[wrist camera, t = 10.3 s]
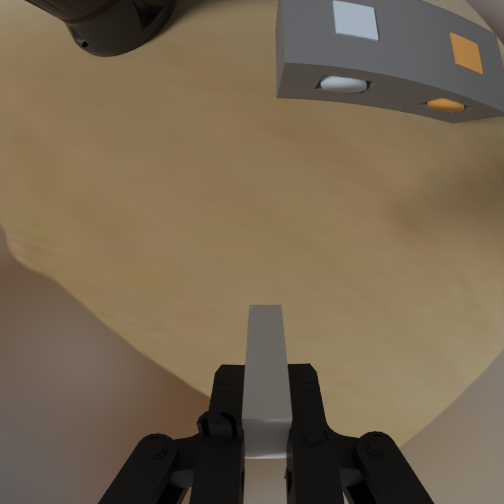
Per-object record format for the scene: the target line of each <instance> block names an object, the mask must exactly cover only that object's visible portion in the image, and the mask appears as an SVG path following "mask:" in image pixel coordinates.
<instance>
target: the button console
mask: <svg viewBox="0 0 504 504" xmlns="http://www.w3.org/2000/svg"><path fill="white" fill-rule="evenodd" d="M276 66H277V98H292V99H310V100H322V101H333V102H343V103H351V104H359V105H366V106H373V107H379V108H385V109H391V110H397V111H402V112H407V113H412V114H416V115H421V116H425V117H430V118H434V119H438V120H442V121H446V122H450V123H455V122H462V121H468V120H474V119H481V118H489V117H496V116H504V68H503V63H502V59H501V54H500V50H499V46H498V42H497V38H496V34H494V33H492V32H490V31H489V30H487V29H485V28H483V27H481V26H479V25H477V24H475V23H473V22H471V21H469V20H467V19H465V18H463V17H461V16H459V15H457V14H454V13H452V12H450V11H447V10H445V9H443V8H440V7H438V6H435V5H433V4H430V3H427V2H425V1H422V0H279V1H278V10H277V20H276ZM323 75H327V76H336V77H344V78H352V79H359V80H365V81H366V83H367V89H366V90H364V91H361V92H355V93H342V92H333V91H329V90H326V89H324V88H322V87H321V78H322V77H323ZM440 97H441V98H444V99H448V100H451V101H454V102H457V103H460V104H463V105H464V109H465V110H464V111H462V112H443V111H438V110H434V109H431V108H429V107H428V106H427V102H428V101H431V100H434V99H437V98H440Z"/></svg>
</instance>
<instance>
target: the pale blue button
mask: <svg viewBox="0 0 504 504" xmlns="http://www.w3.org/2000/svg"><path fill="white" fill-rule="evenodd" d="M321 87H322V88H324V89H326V90H329V91H333V92H342V93H355V92H361V91H364V90H366V89H367V83H366V81H365V80H359V79H352V78H344V77H336V76H327V75H323V77H322V78H321Z"/></svg>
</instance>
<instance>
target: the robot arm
mask: <svg viewBox="0 0 504 504" xmlns="http://www.w3.org/2000/svg"><path fill="white" fill-rule="evenodd" d="M25 1H27V2H29V3H31V4H33V5H35V6H37V7H39V8H40V9H42V10H44V11H46V12H48V13H50V14H51V15H53V16H55V17H57V18H59V19H60V20H62V21H64V22H65V24H66V26H67V28H68V30H69V32H70V33H71V35H72V37H73V39H74V41H75V42H76V44H77V45H78V46H79V47H80V48H82V49H83V50H85V51H87V52H89V53H90V54H92V55H95V56H101V57H109V56H115V55H119V54H123V53H126V52H128V51H130V50H132V49H135V48H136V47H138V46H140V45H142V44H143V43H145V42H146V41H147V40H149V39H150V38H151V37H153V36H154V35H155V34H156V33H157V32H158V31H159V30H160V29H161V28H162V27H163V26H164V24H165V23H166V22H167V20H168V19H169V17H170V15H171V14H172V12H173V9H174V6H175V3H176V0H25ZM197 426H198V430H199V433H198V434H196V435H194V436H192V437H188V438H182V439H176V440H173V439H172V438H170V437H168V436H167V435H164V434H159V433H157V434H150V435H148V436H146V437H144V438H143V439H142V440H141V441H140V442H139V443H138V444H137V446H136V447H135V449H134V451H133V452H132V454H131V455H130V457H129V458H128V460H127V461H126V463H125V464H124V466H123V467H122V469H121V470H120V472H119V473H118V475H117V476H116V478H115V479H114V481H113V482H112V484H111V485H110V486H109V488H108V489H107V491H106V492H105V494H104V495H103V497H102V498H101V500H100V501H99V503H98V504H181V503H182V501H183V499H184V497H185V495H186V493H187V491H188V489H189V487H192V490H191V496H190V502H189V504H243V500H244V499H243V498H244V479H245V468H244V465H245V458H286V459H287V467H286V473H285V477H284V478H285V479H286V488H287V489H286V490H287V504H344V497H343V492H344V494H345V496H346V498H347V500H348V502H349V504H434V502H433V501H432V499H431V498H430V496H429V495H428V493H427V491H426V490H425V488H424V487H423V485H422V484H421V482H420V481H419V479H418V477H417V476H416V474H415V473H414V471H413V470H412V468H411V467H410V465H409V464H408V462H407V461H406V459H405V457H404V456H403V454H402V453H401V451H400V450H399V448H398V447H397V445H396V444H395V442H394V441H393V439H392V438H391V437H390V436H389V435H387V434H385V433H383V432H377V431H373V432H368V433H366V434H364V435H363V436H361V437H360V438H356V437H349V436H344V435H340V434H338V433H336V432H334V431H333V430H332V429H331V428H330V427H329V426H328V424H327V422H326V418H325V413H324V407H323V402H322V397H321V392H320V386H319V381H318V376H317V372H316V371H315V369H314V368H313V367H312V366H311V364H310V363H309V364H287V356H286V346H285V336H284V327H283V317H282V308H281V305H249V317H248V332H247V347H246V363H245V365H221V366H220V368H219V369H218V370H217V371H216V373H215V377H214V383H213V388H212V394H211V400H210V406H209V411H207V412H205V413H204V414H203V415H201V416H200V417H199V419H198V421H197ZM342 490H343V491H342Z"/></svg>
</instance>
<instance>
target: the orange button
mask: <svg viewBox="0 0 504 504" xmlns="http://www.w3.org/2000/svg"><path fill="white" fill-rule="evenodd" d="M427 106H428V107H429V108H431V109H434V110H438V111H443V112H462V111H464V110H465V109H464V105H463V104H460V103H457V102H454V101H451V100H448V99H444V98H441V97H440V98H437V99H434V100H431V101H428V102H427Z"/></svg>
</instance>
